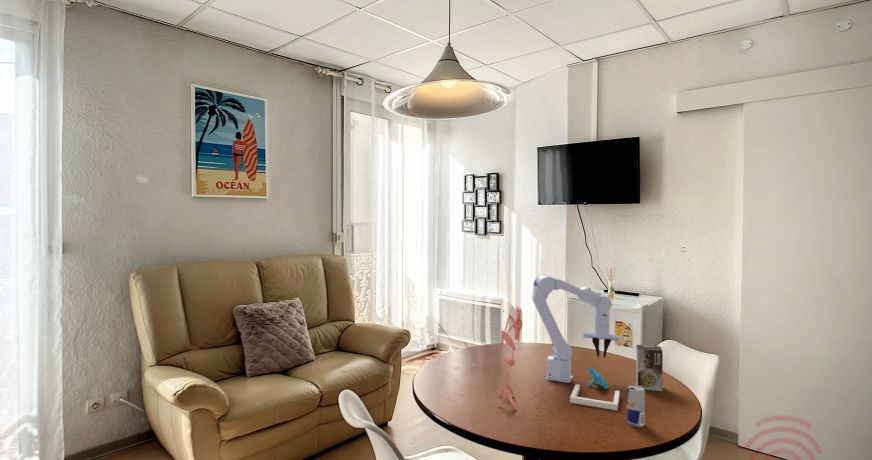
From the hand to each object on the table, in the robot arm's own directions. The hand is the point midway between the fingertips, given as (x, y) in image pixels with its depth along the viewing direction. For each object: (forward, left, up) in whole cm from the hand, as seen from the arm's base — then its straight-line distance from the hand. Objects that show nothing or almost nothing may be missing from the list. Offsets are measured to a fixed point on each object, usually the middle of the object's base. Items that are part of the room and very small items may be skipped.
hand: (601, 356), depth 190 cm
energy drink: (+14, -39, -10) cm, 43 cm away
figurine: (-25, -39, -10) cm, 47 cm away
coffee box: (+18, -2, -10) cm, 20 cm away
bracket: (0, -24, -9) cm, 25 cm away
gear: (0, -10, -10) cm, 14 cm away
